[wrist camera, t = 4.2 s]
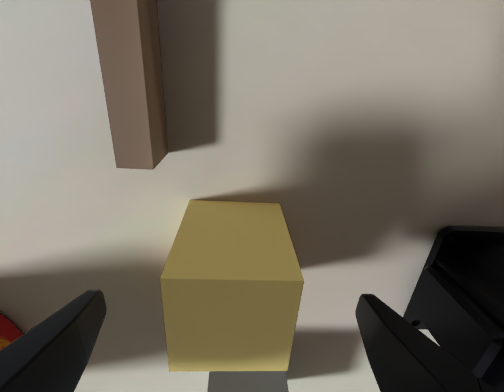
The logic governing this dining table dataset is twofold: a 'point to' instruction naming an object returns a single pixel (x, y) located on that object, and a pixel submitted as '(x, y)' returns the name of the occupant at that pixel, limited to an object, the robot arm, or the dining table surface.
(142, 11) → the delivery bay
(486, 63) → the dining table surface
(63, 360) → the robot arm
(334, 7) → the dining table surface
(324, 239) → the dining table surface
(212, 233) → the ochre block
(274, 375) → the grey block
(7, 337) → the canned food
